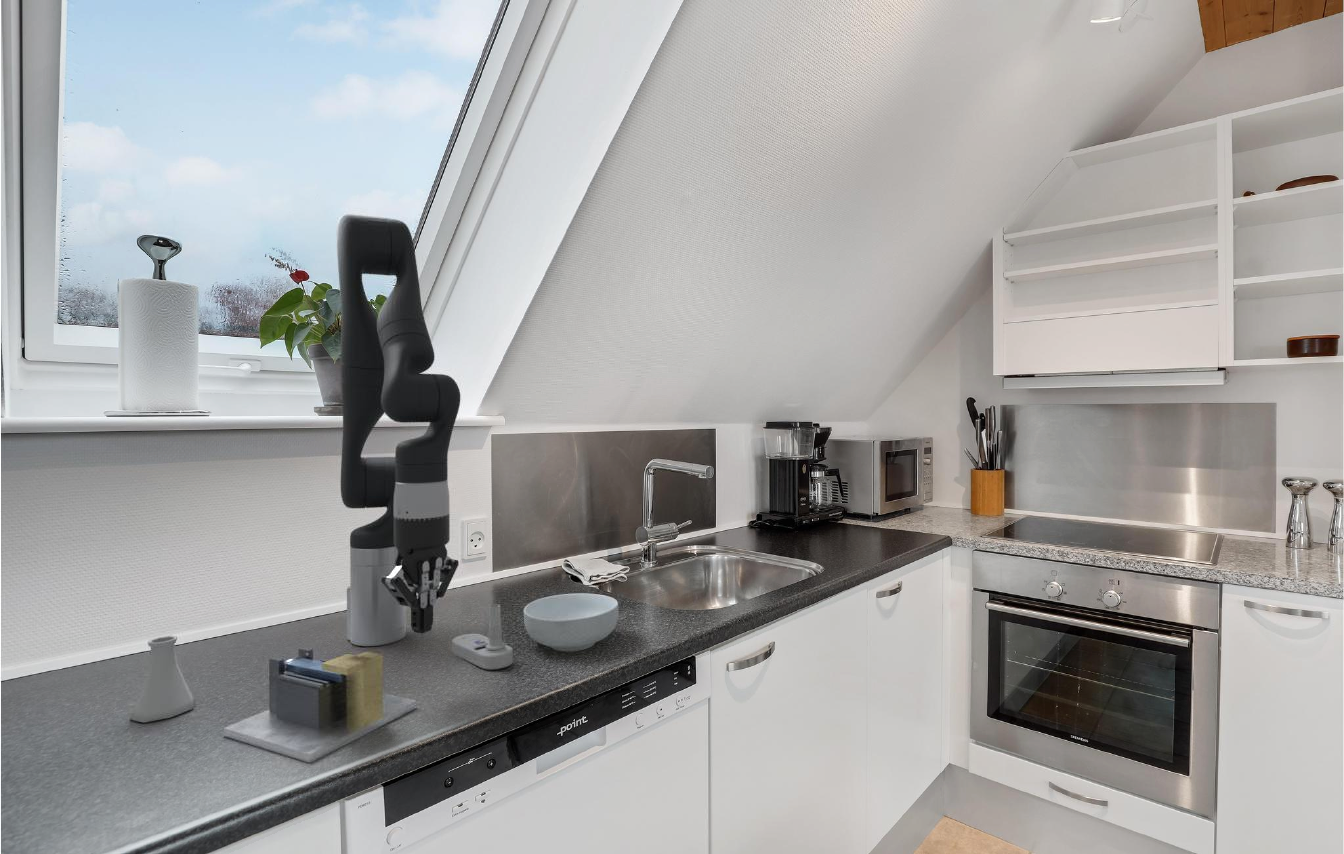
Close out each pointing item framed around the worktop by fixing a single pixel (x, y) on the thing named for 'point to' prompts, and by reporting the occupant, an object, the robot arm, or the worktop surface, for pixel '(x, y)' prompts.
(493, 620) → the electronic device
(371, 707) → the block
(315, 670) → the blue bar
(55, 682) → the worktop surface
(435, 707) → the worktop surface
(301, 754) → the clip base
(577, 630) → the cereal bowl
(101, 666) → the worktop surface
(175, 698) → the flask
